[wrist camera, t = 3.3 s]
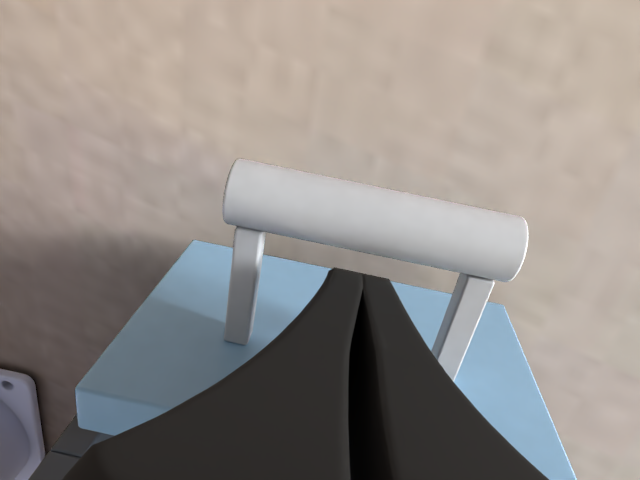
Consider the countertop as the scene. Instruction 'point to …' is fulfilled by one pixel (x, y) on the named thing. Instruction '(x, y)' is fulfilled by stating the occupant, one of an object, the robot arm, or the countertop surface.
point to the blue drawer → (303, 283)
